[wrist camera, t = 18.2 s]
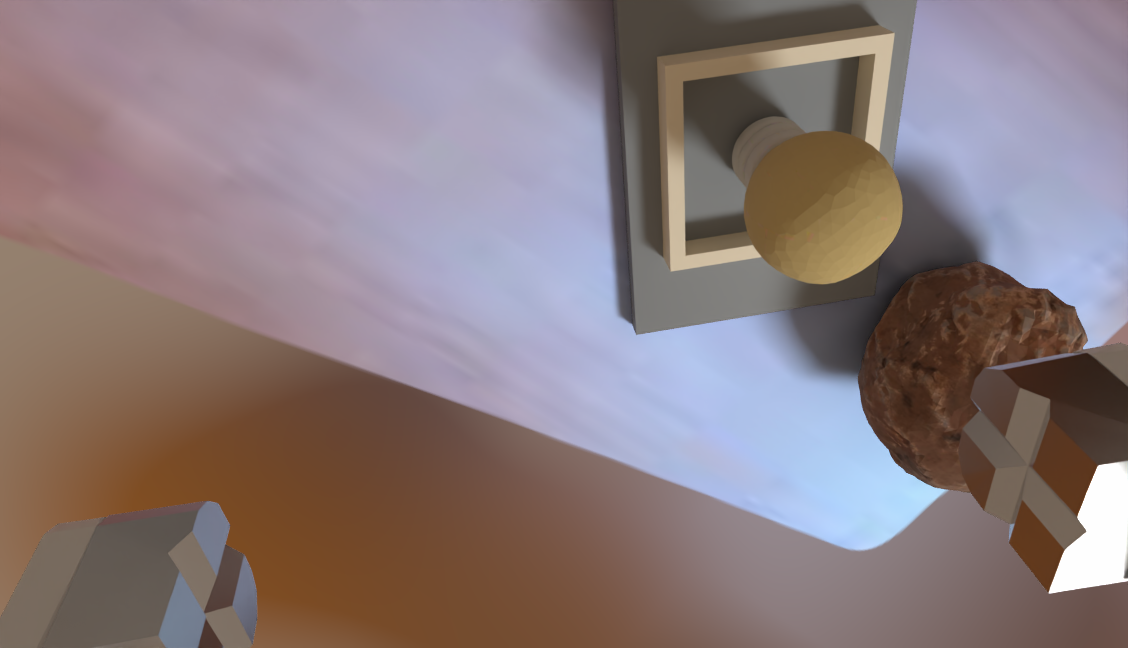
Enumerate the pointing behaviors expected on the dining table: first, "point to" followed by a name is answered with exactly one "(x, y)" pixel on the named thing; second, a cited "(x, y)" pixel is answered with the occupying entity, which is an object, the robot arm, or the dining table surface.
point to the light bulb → (815, 199)
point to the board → (715, 121)
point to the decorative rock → (952, 359)
